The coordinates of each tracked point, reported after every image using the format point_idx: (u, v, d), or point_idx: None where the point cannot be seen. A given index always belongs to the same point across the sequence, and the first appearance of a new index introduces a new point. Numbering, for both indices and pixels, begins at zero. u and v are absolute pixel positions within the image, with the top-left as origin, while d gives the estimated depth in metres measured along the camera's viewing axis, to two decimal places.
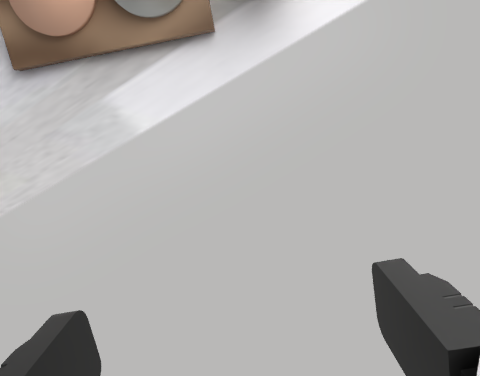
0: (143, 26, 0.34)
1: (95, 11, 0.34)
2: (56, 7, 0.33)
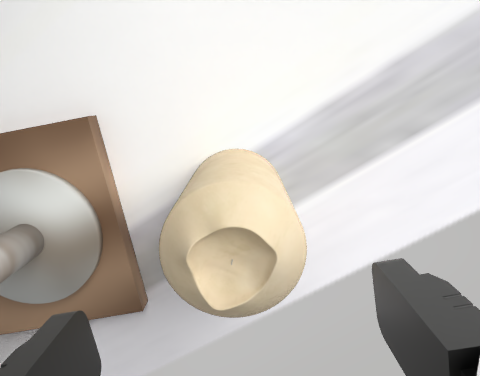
0: (34, 307, 0.22)
1: None
2: None
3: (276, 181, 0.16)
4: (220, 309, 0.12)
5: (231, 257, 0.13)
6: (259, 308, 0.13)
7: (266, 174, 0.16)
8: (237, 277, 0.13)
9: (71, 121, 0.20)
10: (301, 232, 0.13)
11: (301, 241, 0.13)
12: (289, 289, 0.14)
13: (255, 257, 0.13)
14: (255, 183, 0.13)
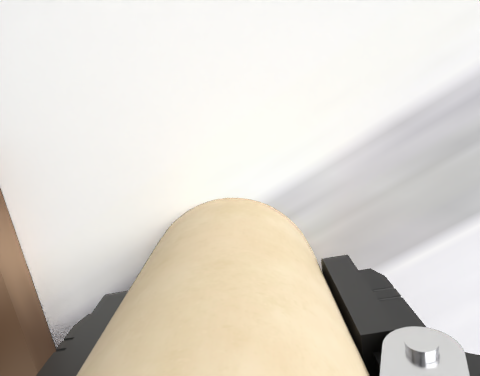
0: None
1: None
2: None
3: (326, 310, 0.07)
4: None
5: None
6: None
7: (303, 296, 0.06)
8: None
9: None
10: None
11: None
12: None
13: None
14: None
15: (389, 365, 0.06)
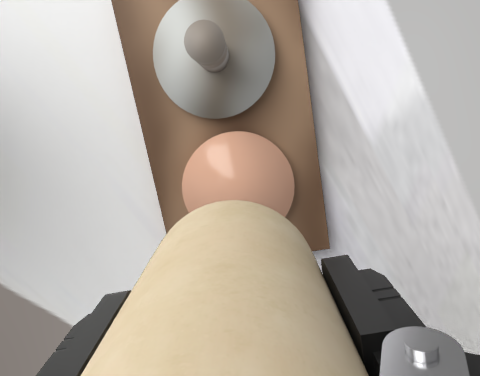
0: (284, 69, 0.25)
1: (263, 134, 0.26)
2: (260, 182, 0.26)
3: (327, 313, 0.07)
4: None
5: None
6: None
7: (304, 300, 0.06)
8: None
9: (115, 9, 0.24)
10: None
11: None
12: None
13: None
14: None
15: (389, 365, 0.06)
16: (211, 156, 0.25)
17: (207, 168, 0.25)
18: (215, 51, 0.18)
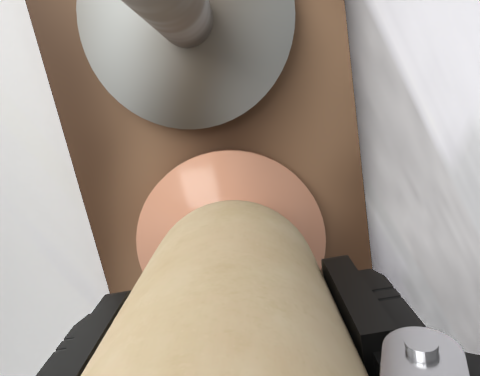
0: (310, 42, 0.14)
1: (273, 155, 0.15)
2: None
3: (327, 313, 0.07)
4: None
5: None
6: None
7: (304, 300, 0.06)
8: None
9: None
10: None
11: None
12: None
13: None
14: None
15: (389, 365, 0.06)
16: (185, 193, 0.15)
17: (179, 213, 0.15)
18: None
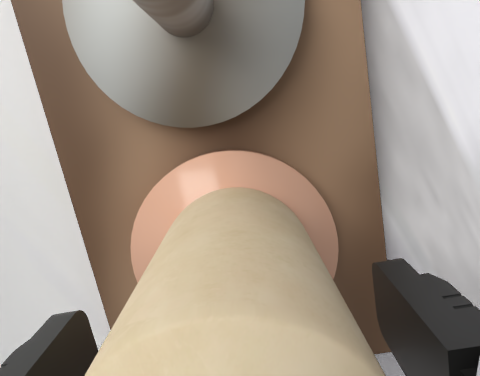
0: (321, 31, 0.13)
1: (280, 156, 0.14)
2: None
3: (322, 271, 0.08)
4: None
5: None
6: None
7: (304, 259, 0.08)
8: None
9: None
10: None
11: None
12: None
13: None
14: (298, 320, 0.05)
15: None
16: (183, 198, 0.13)
17: None
18: None
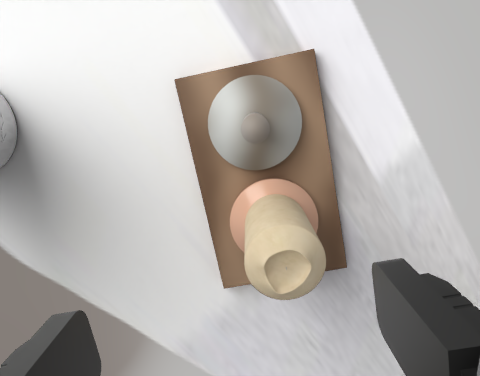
0: (309, 130, 0.32)
1: (293, 180, 0.33)
2: None
3: (307, 221, 0.27)
4: (280, 293, 0.23)
5: (285, 266, 0.24)
6: (299, 294, 0.24)
7: (301, 217, 0.27)
8: (288, 276, 0.24)
9: (178, 90, 0.31)
10: (323, 253, 0.24)
11: (323, 258, 0.24)
12: (315, 284, 0.24)
13: (298, 266, 0.24)
14: (299, 226, 0.24)
15: None
16: (252, 198, 0.32)
17: None
18: (263, 135, 0.25)
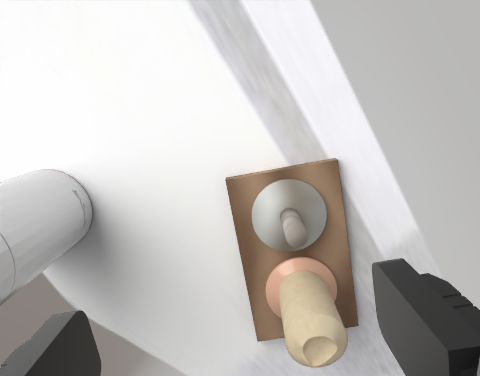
0: (331, 220, 0.40)
1: (317, 258, 0.41)
2: None
3: (332, 304, 0.35)
4: (313, 366, 0.31)
5: (317, 344, 0.32)
6: (326, 365, 0.32)
7: (328, 301, 0.34)
8: (319, 352, 0.32)
9: (228, 188, 0.39)
10: (346, 335, 0.32)
11: (346, 339, 0.32)
12: (339, 357, 0.32)
13: (327, 345, 0.32)
14: (329, 315, 0.32)
15: None
16: (285, 273, 0.40)
17: (282, 280, 0.40)
18: (302, 241, 0.33)
